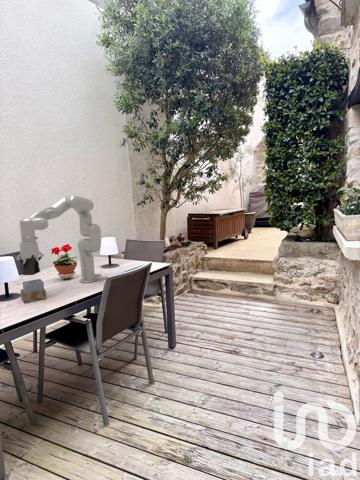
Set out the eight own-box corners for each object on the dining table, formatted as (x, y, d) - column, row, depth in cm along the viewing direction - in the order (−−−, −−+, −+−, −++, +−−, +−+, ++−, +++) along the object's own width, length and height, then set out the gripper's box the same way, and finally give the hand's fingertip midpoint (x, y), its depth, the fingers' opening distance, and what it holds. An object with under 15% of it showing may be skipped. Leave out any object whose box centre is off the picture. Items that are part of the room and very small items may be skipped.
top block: (40, 286, 191) (39, 278, 191) (44, 289, 183) (43, 281, 183) (23, 289, 185) (22, 281, 185) (26, 293, 177) (25, 285, 177)
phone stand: (31, 271, 188) (29, 252, 186) (40, 271, 187) (38, 252, 186) (23, 275, 179) (21, 255, 177) (32, 275, 178) (30, 255, 177)
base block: (42, 294, 193) (41, 285, 192) (46, 299, 184) (45, 290, 183) (21, 298, 186) (20, 289, 186) (24, 304, 177) (23, 294, 176)
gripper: (42, 237, 188) (45, 265, 191) (11, 240, 178) (14, 270, 181) (45, 238, 182) (47, 267, 185) (13, 241, 172) (16, 272, 175)
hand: (31, 268), depth 183 cm, fingers closed on phone stand, 5 cm apart
